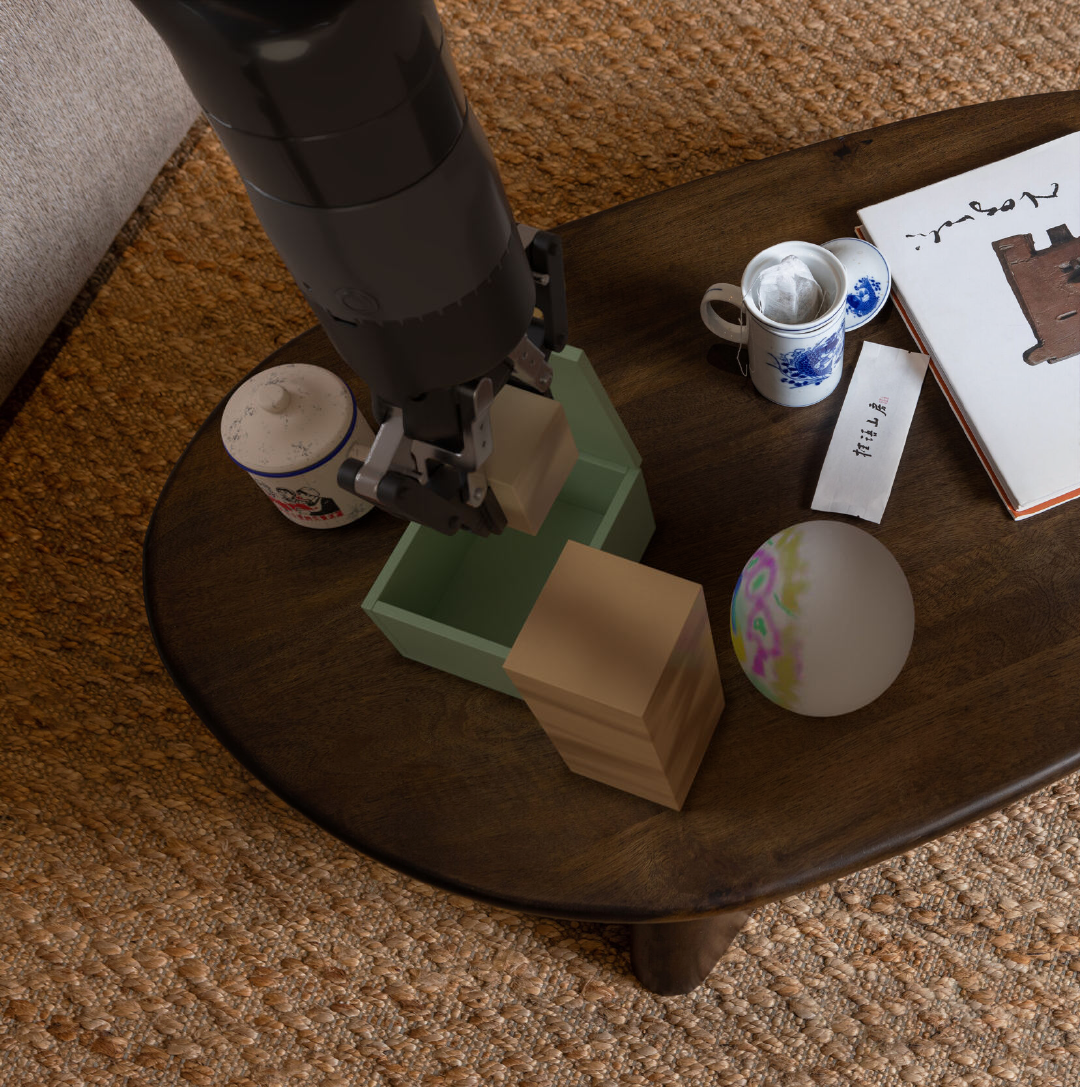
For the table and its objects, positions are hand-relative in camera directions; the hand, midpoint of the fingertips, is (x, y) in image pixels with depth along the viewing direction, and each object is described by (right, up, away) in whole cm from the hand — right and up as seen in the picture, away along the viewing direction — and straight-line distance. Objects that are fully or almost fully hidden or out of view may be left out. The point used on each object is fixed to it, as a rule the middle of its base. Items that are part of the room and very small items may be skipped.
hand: (511, 476), depth 54 cm
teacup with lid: (-22, +1, +35) cm, 41 cm away
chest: (-7, -6, +31) cm, 32 cm away
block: (0, 0, 0) cm, 0 cm away
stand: (+2, -16, +26) cm, 31 cm away
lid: (-5, +6, +18) cm, 20 cm away
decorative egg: (+14, -11, +29) cm, 34 cm away
